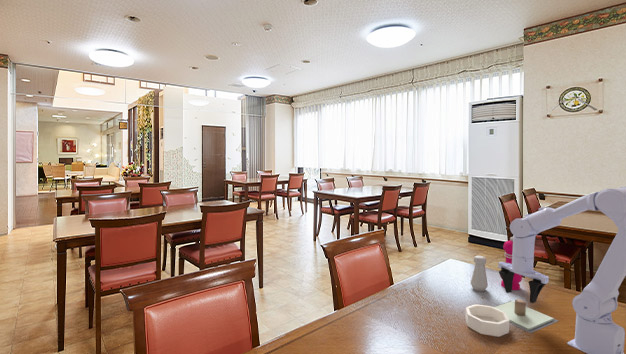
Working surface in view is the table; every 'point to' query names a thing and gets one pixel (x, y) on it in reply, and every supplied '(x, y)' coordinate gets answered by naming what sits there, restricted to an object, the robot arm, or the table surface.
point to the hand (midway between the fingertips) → (520, 297)
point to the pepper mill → (508, 254)
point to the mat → (534, 328)
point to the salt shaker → (479, 274)
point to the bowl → (487, 320)
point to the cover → (523, 314)
